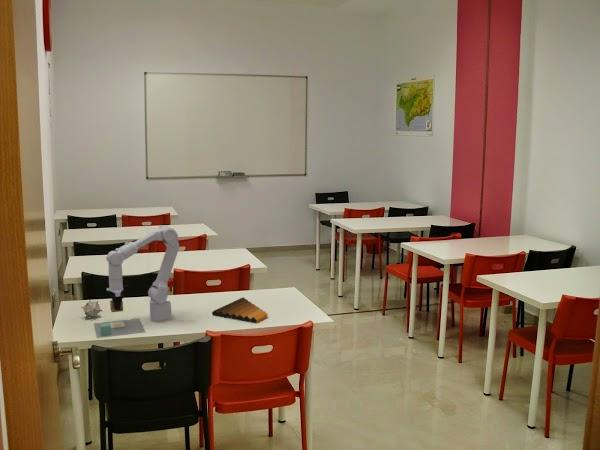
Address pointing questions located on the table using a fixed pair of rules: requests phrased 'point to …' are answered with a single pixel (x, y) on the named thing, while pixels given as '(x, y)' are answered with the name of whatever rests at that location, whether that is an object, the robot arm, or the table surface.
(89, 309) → the grey spiky ball
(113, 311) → the walnut block
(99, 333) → the board
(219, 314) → the pan flute
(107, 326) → the teal block
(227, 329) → the table surface
